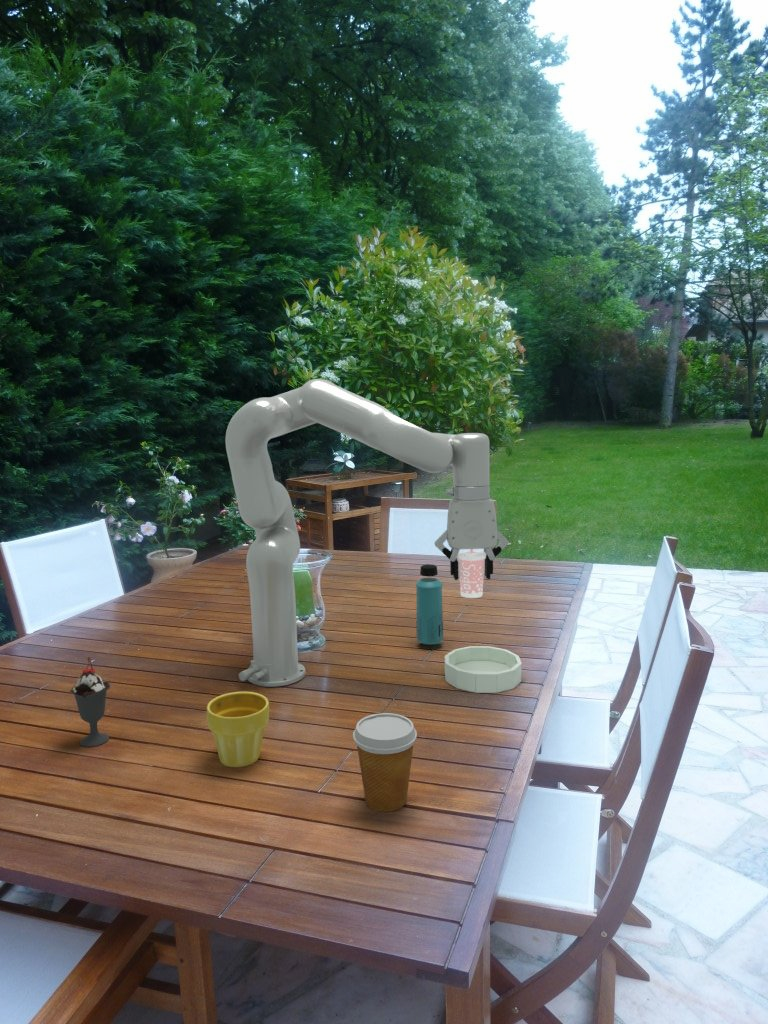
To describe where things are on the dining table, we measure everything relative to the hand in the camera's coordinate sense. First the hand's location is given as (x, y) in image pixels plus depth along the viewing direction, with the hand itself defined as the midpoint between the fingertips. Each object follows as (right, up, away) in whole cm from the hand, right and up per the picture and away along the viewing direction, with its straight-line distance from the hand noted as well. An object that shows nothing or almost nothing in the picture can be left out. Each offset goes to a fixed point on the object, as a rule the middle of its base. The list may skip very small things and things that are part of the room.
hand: (471, 577), depth 150 cm
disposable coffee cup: (-18, -30, -42) cm, 55 cm away
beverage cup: (0, -4, +1) cm, 4 cm away
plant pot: (-43, -28, -29) cm, 59 cm away
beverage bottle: (-7, -19, +22) cm, 30 cm away
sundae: (-70, -28, -22) cm, 79 cm away
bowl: (+3, -22, +3) cm, 22 cm away
